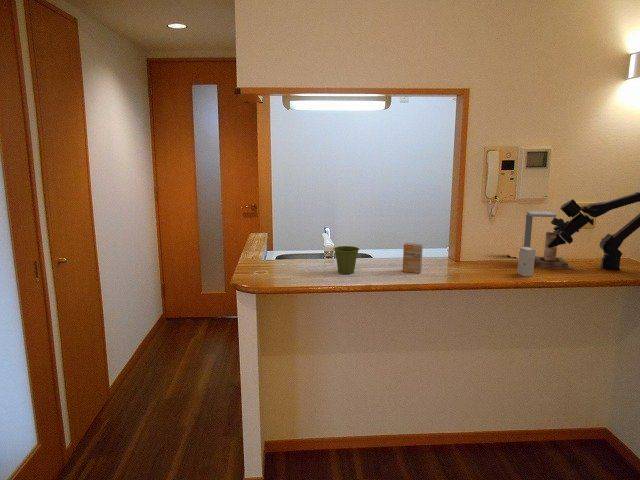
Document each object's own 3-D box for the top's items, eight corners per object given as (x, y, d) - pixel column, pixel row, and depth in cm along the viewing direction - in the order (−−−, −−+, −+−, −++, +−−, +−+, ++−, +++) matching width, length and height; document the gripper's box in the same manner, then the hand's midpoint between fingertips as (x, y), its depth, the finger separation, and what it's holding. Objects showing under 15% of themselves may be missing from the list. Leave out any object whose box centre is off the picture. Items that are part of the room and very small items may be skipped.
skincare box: (516, 273, 204) (518, 247, 202) (525, 272, 205) (527, 246, 203) (524, 276, 198) (526, 249, 196) (533, 276, 199) (536, 249, 197)
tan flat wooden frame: (565, 261, 225) (566, 257, 224) (573, 269, 209) (574, 264, 209) (526, 259, 229) (526, 255, 229) (531, 267, 214) (532, 262, 214)
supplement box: (402, 272, 207) (403, 244, 205) (404, 269, 212) (404, 242, 209) (420, 273, 204) (421, 245, 202) (421, 271, 209) (422, 243, 206)
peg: (554, 258, 220) (556, 232, 218) (555, 260, 216) (558, 234, 214) (543, 258, 222) (545, 232, 219) (545, 260, 218) (547, 233, 215)
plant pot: (329, 274, 204) (329, 250, 202) (338, 268, 215) (338, 245, 213) (354, 277, 200) (355, 252, 198) (362, 270, 211) (362, 247, 208)
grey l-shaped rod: (546, 261, 225) (551, 211, 220) (551, 267, 214) (556, 214, 209) (521, 260, 228) (524, 210, 224) (524, 266, 217) (528, 213, 212)
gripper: (559, 209, 222) (533, 230, 228) (567, 214, 205) (538, 237, 210) (576, 226, 221) (549, 247, 227) (585, 232, 204) (555, 254, 209)
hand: (547, 246), depth 218 cm, fingers closed on peg, 4 cm apart
